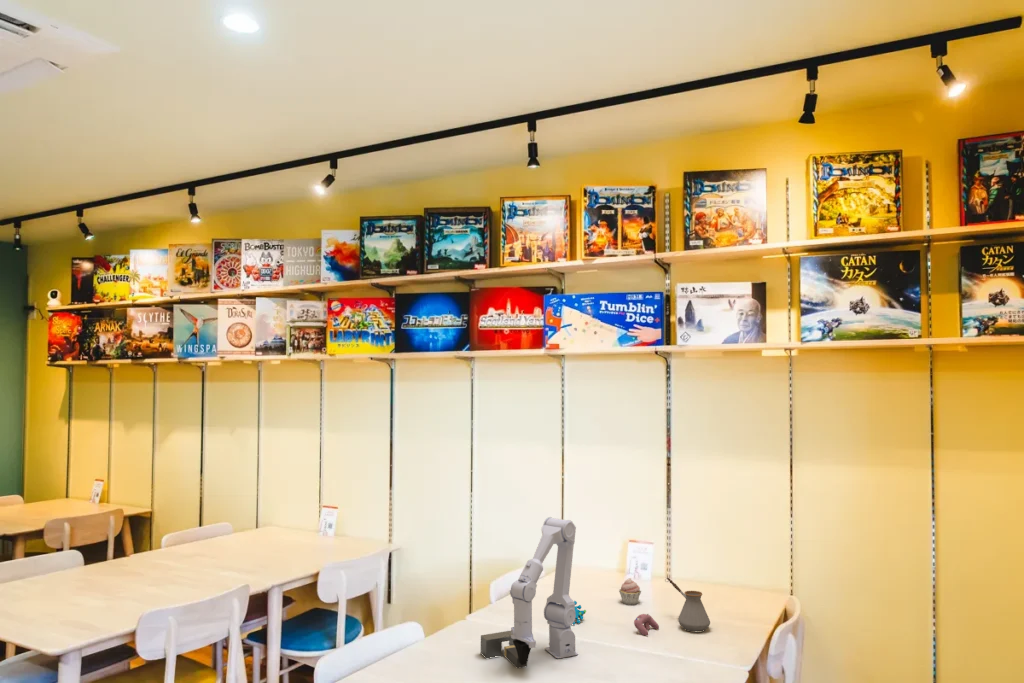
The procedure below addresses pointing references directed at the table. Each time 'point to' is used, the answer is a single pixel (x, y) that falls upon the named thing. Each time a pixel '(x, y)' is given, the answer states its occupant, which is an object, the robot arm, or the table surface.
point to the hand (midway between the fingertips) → (523, 663)
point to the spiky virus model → (578, 613)
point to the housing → (495, 643)
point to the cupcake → (630, 592)
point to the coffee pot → (692, 611)
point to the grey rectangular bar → (512, 655)
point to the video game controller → (645, 623)
